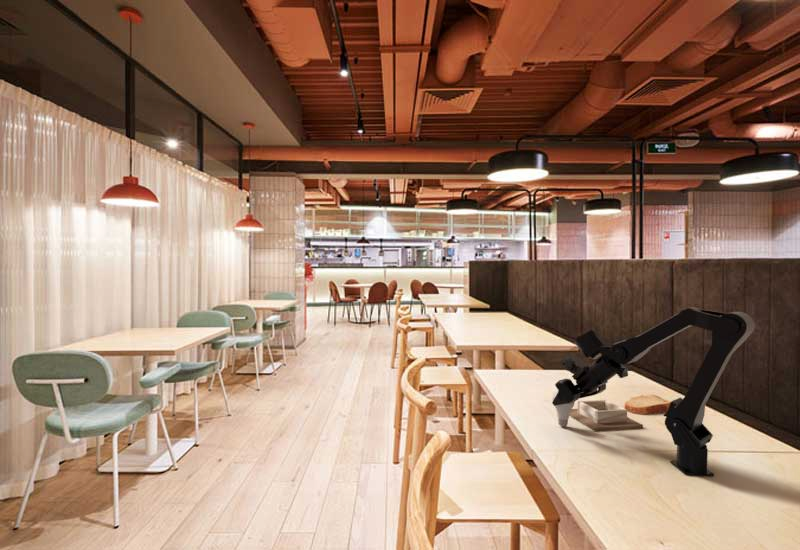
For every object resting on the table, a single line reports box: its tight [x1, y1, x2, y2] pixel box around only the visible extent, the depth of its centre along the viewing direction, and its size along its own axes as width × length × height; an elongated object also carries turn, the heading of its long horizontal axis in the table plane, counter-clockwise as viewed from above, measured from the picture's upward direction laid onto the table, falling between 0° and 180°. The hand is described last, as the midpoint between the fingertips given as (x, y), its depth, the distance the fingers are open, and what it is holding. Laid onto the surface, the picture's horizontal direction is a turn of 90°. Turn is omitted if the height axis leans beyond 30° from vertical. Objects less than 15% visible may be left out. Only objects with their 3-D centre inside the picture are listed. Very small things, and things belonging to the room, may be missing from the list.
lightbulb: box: [552, 390, 576, 428], centre depth 128 cm, size 6×6×11 cm
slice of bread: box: [624, 394, 675, 416], centre depth 147 cm, size 18×18×4 cm
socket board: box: [569, 399, 644, 432], centre depth 134 cm, size 16×16×4 cm
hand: (562, 401), depth 128 cm, fingers open, 9 cm apart
